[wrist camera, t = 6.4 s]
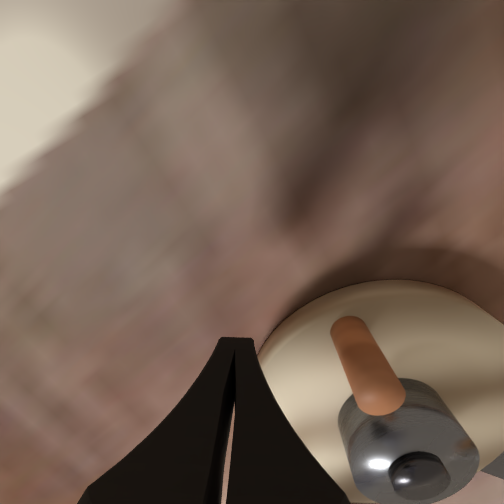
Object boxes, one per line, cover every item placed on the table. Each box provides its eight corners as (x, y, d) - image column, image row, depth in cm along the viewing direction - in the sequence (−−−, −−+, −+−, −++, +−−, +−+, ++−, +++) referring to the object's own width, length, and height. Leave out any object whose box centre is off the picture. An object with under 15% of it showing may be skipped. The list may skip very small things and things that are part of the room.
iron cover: (454, 433, 17) (500, 501, 14) (358, 463, 18) (380, 532, 15) (427, 362, 15) (473, 421, 12) (321, 400, 16) (337, 464, 13)
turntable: (521, 432, 20) (627, 548, 14) (305, 493, 22) (321, 611, 17) (479, 231, 14) (620, 289, 9) (204, 343, 17) (179, 441, 12)
